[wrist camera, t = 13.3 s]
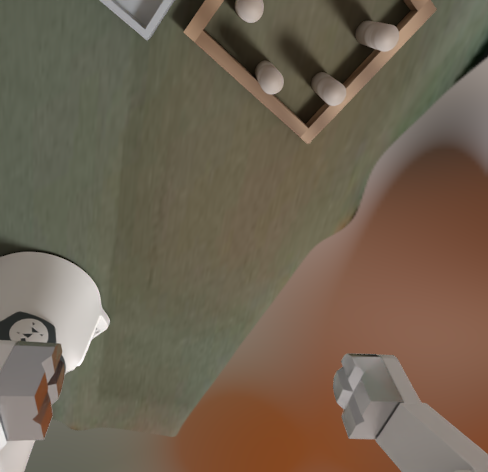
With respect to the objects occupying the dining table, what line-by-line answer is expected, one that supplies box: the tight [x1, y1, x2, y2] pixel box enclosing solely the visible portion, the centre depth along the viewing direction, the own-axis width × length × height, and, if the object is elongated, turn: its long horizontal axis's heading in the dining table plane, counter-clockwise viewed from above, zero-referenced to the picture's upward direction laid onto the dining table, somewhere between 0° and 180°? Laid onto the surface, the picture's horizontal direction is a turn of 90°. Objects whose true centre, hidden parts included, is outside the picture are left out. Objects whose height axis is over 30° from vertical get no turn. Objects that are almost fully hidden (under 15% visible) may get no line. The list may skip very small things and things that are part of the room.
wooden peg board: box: [184, 0, 437, 144], centre depth 32 cm, size 16×16×5 cm
